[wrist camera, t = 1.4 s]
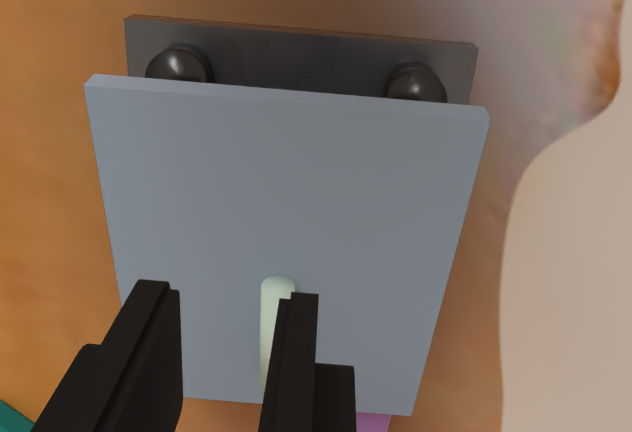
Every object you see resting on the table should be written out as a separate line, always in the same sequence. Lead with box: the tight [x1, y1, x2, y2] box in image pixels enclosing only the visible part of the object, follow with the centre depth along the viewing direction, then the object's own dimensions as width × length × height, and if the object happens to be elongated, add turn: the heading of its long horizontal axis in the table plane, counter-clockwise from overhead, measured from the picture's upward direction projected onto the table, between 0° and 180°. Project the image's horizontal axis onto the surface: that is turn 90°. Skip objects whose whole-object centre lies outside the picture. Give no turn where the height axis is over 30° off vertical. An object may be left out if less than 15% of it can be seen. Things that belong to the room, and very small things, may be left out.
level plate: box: [83, 74, 491, 416], centre depth 28 cm, size 19×16×3 cm
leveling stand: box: [124, 15, 479, 105], centre depth 33 cm, size 21×18×6 cm
